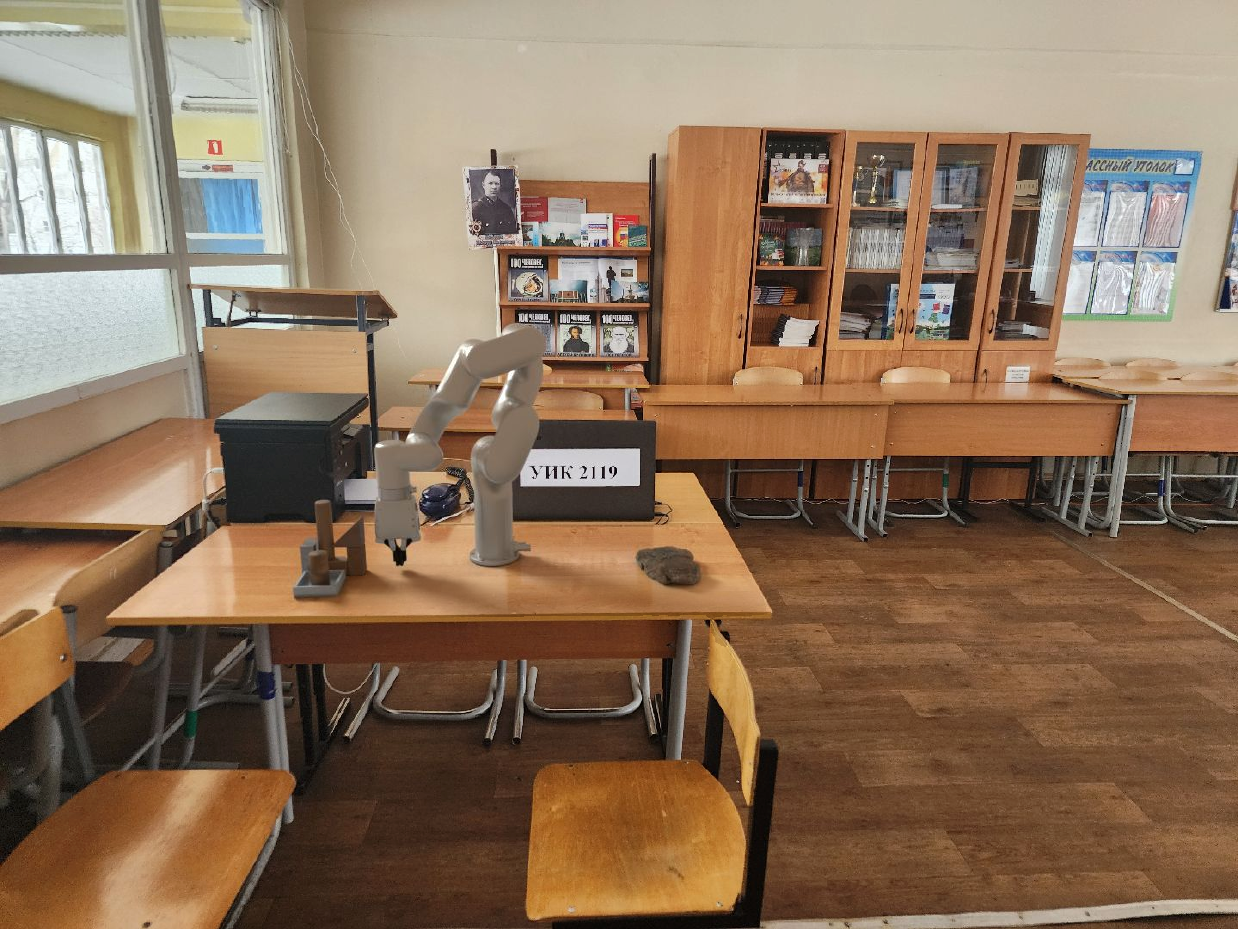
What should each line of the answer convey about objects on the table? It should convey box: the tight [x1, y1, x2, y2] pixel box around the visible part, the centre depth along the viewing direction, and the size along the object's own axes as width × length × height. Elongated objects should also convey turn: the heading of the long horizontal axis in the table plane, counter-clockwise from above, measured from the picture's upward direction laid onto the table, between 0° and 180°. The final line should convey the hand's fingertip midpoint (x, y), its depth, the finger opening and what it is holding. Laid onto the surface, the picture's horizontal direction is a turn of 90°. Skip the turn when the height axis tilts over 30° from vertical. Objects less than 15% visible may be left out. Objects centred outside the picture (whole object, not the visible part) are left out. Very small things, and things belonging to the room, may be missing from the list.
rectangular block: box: [299, 536, 319, 575], centre depth 179 cm, size 3×6×8 cm, turn 8°
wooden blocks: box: [314, 499, 368, 576], centre depth 178 cm, size 4×11×18 cm, turn 93°
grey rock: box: [635, 545, 702, 585], centre depth 185 cm, size 14×5×20 cm
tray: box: [292, 570, 347, 599], centre depth 171 cm, size 9×9×2 cm
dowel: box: [308, 550, 330, 586], centre depth 170 cm, size 4×4×8 cm
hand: (400, 563), depth 182 cm, fingers closed
